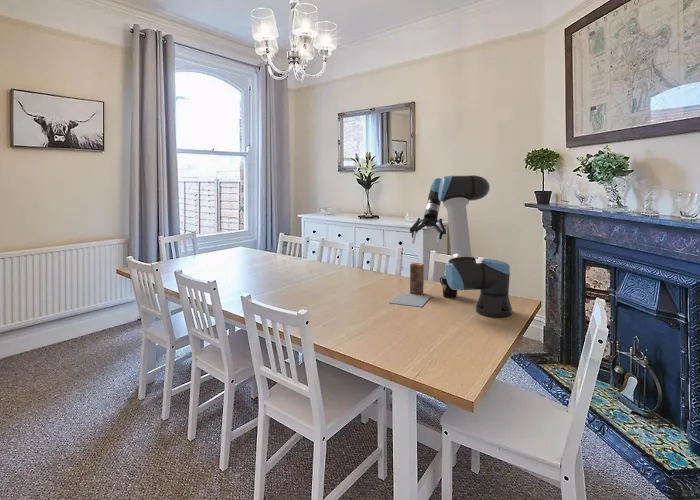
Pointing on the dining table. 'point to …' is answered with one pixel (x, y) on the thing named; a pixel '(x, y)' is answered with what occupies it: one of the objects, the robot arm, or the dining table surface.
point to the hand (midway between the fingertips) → (425, 242)
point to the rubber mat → (410, 299)
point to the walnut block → (416, 278)
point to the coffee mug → (447, 289)
